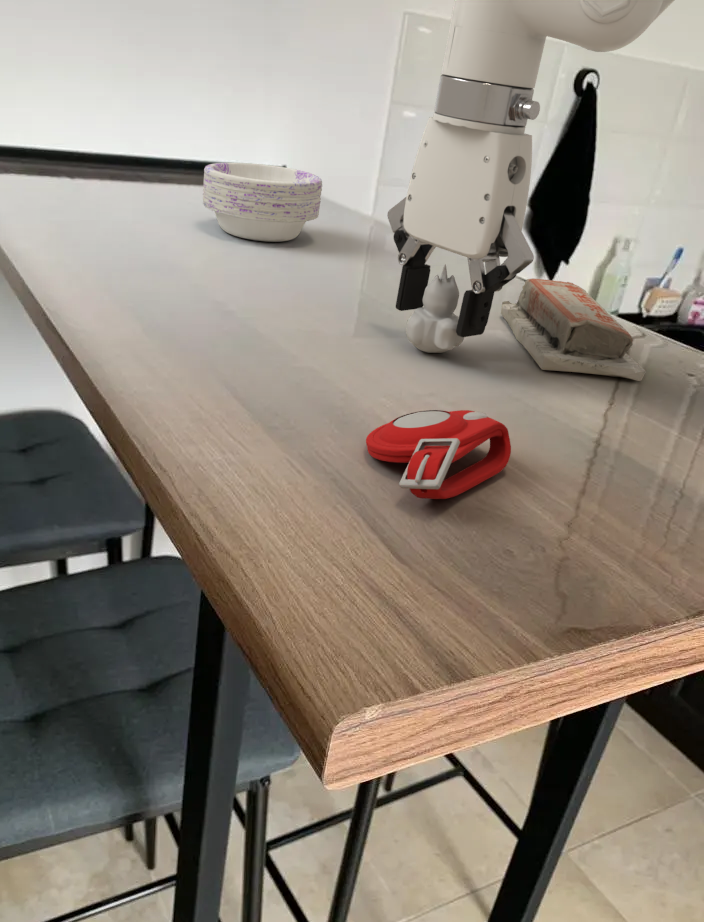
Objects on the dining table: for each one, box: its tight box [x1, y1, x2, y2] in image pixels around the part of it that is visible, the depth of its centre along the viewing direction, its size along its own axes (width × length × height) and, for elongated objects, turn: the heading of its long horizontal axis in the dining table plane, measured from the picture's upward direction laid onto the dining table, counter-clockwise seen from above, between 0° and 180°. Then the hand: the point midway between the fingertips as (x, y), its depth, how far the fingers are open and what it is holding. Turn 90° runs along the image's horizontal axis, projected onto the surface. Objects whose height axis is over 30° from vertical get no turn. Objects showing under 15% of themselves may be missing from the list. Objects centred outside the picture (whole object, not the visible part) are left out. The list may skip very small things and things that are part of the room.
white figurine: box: [405, 263, 465, 354], centre depth 78 cm, size 5×7×8 cm
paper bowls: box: [202, 162, 323, 243], centre depth 112 cm, size 15×15×8 cm
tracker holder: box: [365, 409, 512, 500], centre depth 57 cm, size 12×4×10 cm
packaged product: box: [500, 278, 647, 382], centre depth 86 cm, size 18×5×10 cm
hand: (438, 319), depth 78 cm, fingers open, 6 cm apart
